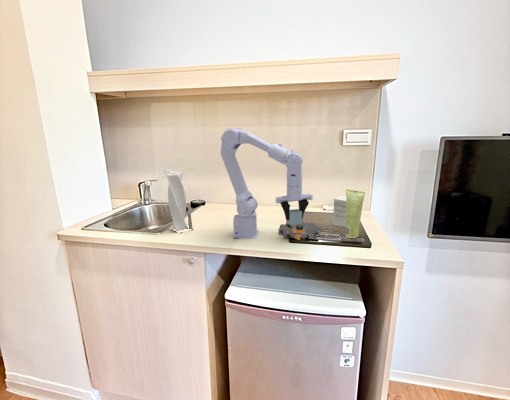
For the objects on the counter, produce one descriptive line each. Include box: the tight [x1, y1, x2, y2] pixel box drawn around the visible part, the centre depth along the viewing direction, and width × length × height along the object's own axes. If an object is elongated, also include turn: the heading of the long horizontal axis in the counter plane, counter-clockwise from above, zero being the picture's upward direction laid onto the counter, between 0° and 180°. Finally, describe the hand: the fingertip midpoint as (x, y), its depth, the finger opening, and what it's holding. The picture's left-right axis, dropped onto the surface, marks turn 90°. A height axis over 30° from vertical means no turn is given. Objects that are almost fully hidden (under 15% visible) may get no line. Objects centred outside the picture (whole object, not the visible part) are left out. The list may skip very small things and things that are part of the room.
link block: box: [287, 208, 303, 225], centre depth 110 cm, size 5×4×5 cm
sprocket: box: [277, 219, 322, 241], centre depth 117 cm, size 18×18×6 cm
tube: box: [344, 188, 366, 238], centre depth 109 cm, size 6×5×20 cm
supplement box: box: [332, 195, 346, 228], centre depth 124 cm, size 7×7×13 cm
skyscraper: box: [164, 169, 194, 231], centre depth 122 cm, size 8×8×28 cm
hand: (294, 218), depth 110 cm, fingers closed on link block, 5 cm apart
